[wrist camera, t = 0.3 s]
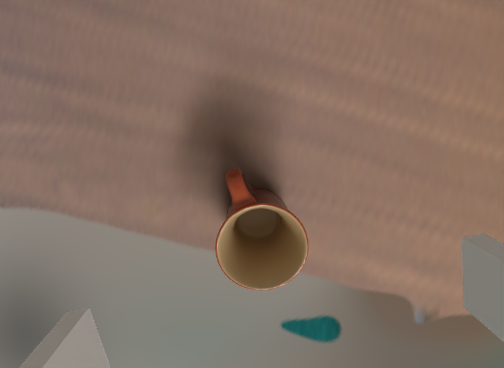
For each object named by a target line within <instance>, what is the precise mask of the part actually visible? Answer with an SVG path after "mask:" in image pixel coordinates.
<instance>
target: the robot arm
mask: <svg viewBox="0 0 504 368" xmlns="http://www.w3.org/2000/svg"><path fill="white" fill-rule="evenodd" d="M462 261H463V300H464V308H466V309H467V310H468V311H469V312H470V313H471V314H472V315H474V316H475V317H476V318H477V319H478V320H479V321H481V322H482V323H483V324H484V325H485V326H486V327H487V328H489V329H490V330H491V331H492V332H493V333H494V334H495V335H497V336H498V337H499V338H500V339H501V340H502V341H504V244H503V243H501V242H499V241H497V240H495V239H493V238H491V237H489V236H487V235H485V234H480V235H474V236H469V237H463V238H462ZM19 368H110V365H109V362H108V360H107V357H106V354H105V351H104V348H103V345H102V342H101V339H100V337H99V334H98V331H97V328H96V325H95V323H94V320H93V317H92V314H91V311H90V308H89V307H88V308H83V309H78V310H72V311H68V312H67V313H66V314H65V315H64V316H63V317H62V318H61V320H60V321H59V322H58V323H57V324H56V325H55V326H54V328H53V329H52V330H51V331H50V332H49V333H48V334H47V336H46V337H45V338H44V339H43V340H42V342H41V343H40V344H39V345H38V346H37V347H36V348H35V349H34V351H33V352H32V353H31V354H30V355H29V357H28V358H27V359H26V360H25V361H24V362H23V363H22V364H21V366H20V367H19Z"/></svg>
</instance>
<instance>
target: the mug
mask: <svg viewBox="0 0 504 368" xmlns="http://www.w3.org/2000/svg"><path fill="white" fill-rule="evenodd" d="M225 178H226V183H227V186H228V188H229V191H230V194H231V197H232V203H231V205H230V206H229V208H228V211H227V215H226V220H225V222H224V223H223V225H222V226H221V228H220V230H219V233H218V235H217V239H216V248H215V249H216V257H217V260H218V263H219V265H220V267H221V269H222V271H223V272H224V273H225V275H227V277H228V278H229V279H231V280H232V281H233V282H235V283H236V284H238V285H240V286H242V287H245V288H248V289H252V290H269V289H274V288H277V287H280V286H282V285H284V284H286V283H287V282H289V281H291V280H292V279H293V278H294V277H295V276H296V275H297V274H298V273H299V272H300V270H301V269H302V267H303V266H304V263H305V261H306V258H307V254H308V238H307V234H306V231H305V229H304V227H303V225H302V223H301V222H300V221H299V219H298V218H297V217H296V216H295V215H294V214H292V213H291V212H290V211H288V209H287V207H286V205H285V203H284V202H283V201H282V200H281V199H280V198H279V197H278V196H277V195H275V194H274V193H272V192H271V191H270V190H266V189H260V188H254V189H253V188H252V186H251V185H250V184H249V182H248V181H247V180H246V178H245V176H244V174H243V172H242V170H241V168H239V167H234V168H232V169H229V170H228V171H227V172H226V174H225Z"/></svg>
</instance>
